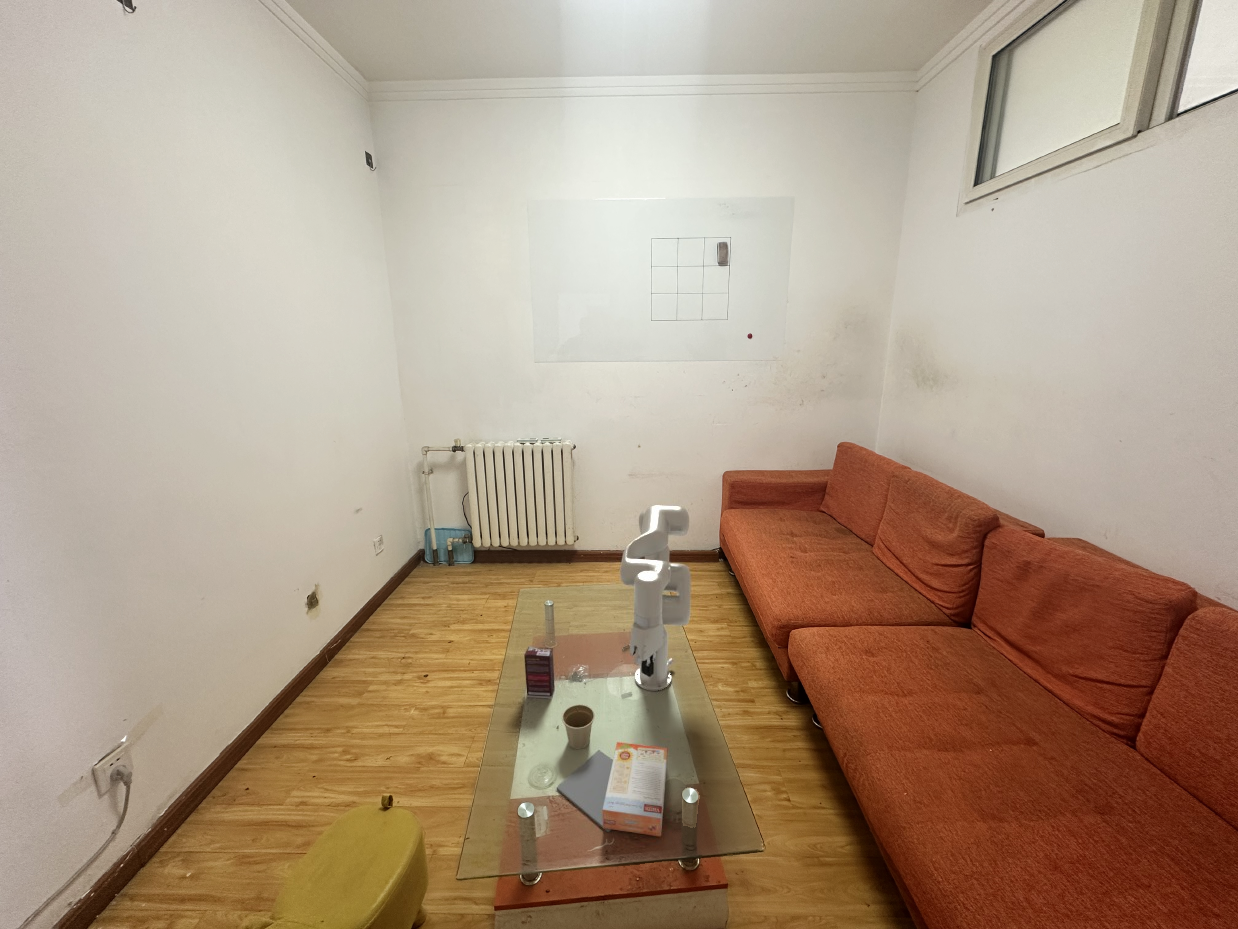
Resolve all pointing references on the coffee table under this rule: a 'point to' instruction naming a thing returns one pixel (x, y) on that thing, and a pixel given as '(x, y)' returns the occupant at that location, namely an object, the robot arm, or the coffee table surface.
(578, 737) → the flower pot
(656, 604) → the robot arm
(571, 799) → the mat
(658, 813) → the cracker box
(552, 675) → the supplement box
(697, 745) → the coffee table surface
